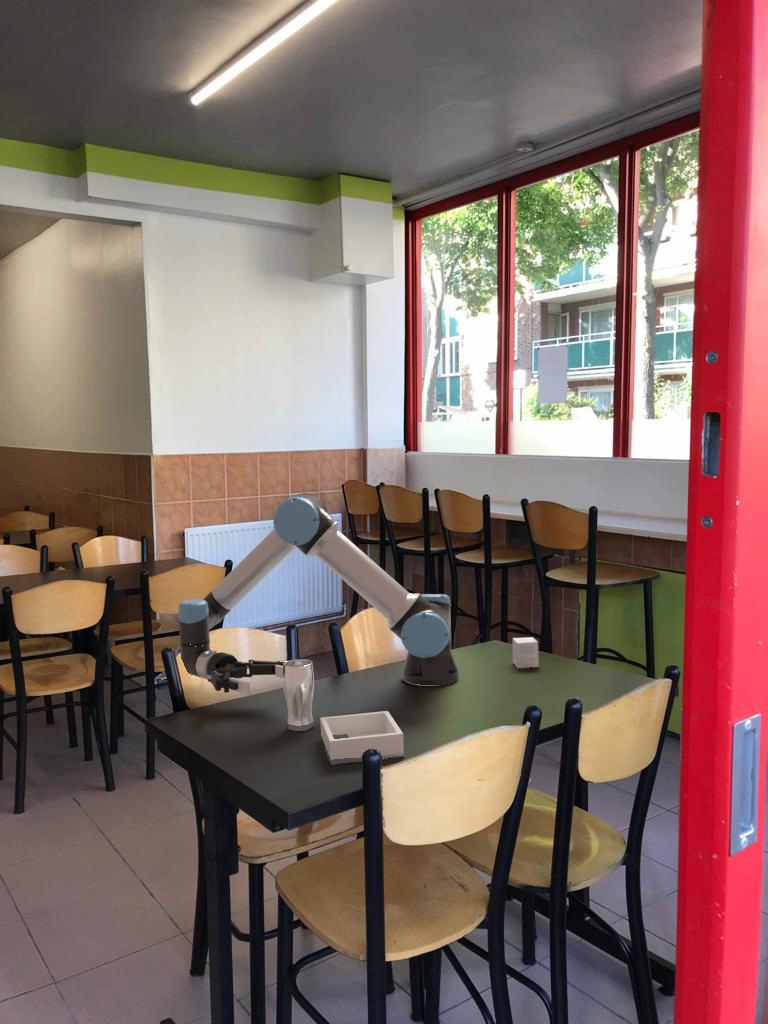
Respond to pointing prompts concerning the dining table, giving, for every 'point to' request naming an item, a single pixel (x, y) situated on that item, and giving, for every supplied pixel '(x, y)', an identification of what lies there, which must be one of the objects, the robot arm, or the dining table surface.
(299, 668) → the beer glass
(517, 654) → the product box
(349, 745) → the tote
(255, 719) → the dining table surface
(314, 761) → the dining table surface
